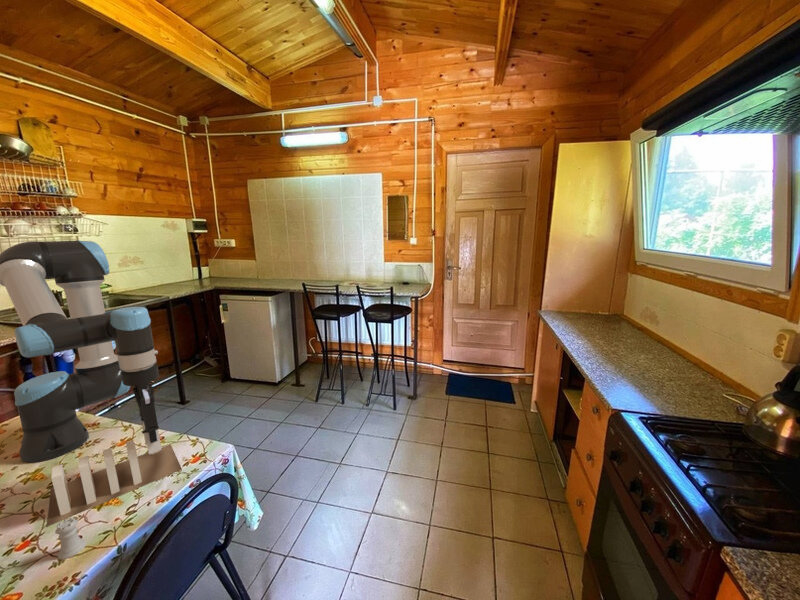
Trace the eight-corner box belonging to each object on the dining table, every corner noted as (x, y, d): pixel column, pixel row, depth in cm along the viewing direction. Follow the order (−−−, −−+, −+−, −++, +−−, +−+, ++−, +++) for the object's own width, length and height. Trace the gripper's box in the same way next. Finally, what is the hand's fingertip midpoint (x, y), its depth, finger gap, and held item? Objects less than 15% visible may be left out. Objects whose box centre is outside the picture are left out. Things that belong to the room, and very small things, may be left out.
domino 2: (87, 504, 79) (78, 468, 77) (86, 493, 83) (78, 458, 81) (96, 501, 80) (88, 465, 78) (95, 490, 84) (87, 455, 82)
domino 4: (134, 485, 85) (127, 451, 84) (132, 475, 89) (125, 442, 87) (141, 481, 87) (135, 448, 85) (139, 472, 90) (133, 439, 88)
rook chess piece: (69, 567, 66) (60, 534, 64) (52, 563, 66) (43, 530, 65) (93, 547, 70) (86, 515, 68) (77, 543, 71) (69, 512, 69)
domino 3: (111, 494, 82) (104, 459, 80) (110, 484, 86) (103, 450, 84) (119, 491, 83) (112, 456, 82) (118, 481, 87) (111, 447, 85)
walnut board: (47, 532, 74) (46, 526, 73) (51, 493, 85) (50, 488, 85) (182, 474, 91) (182, 469, 91) (171, 448, 103) (170, 444, 102)
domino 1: (60, 515, 76) (51, 478, 74) (61, 503, 80) (52, 467, 78) (70, 511, 77) (61, 474, 75) (70, 499, 81) (62, 464, 79)
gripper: (162, 371, 81) (176, 455, 85) (151, 354, 94) (163, 428, 98) (123, 381, 76) (140, 469, 80) (117, 361, 89) (132, 438, 93)
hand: (153, 446), depth 89 cm, fingers closed on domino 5, 5 cm apart
